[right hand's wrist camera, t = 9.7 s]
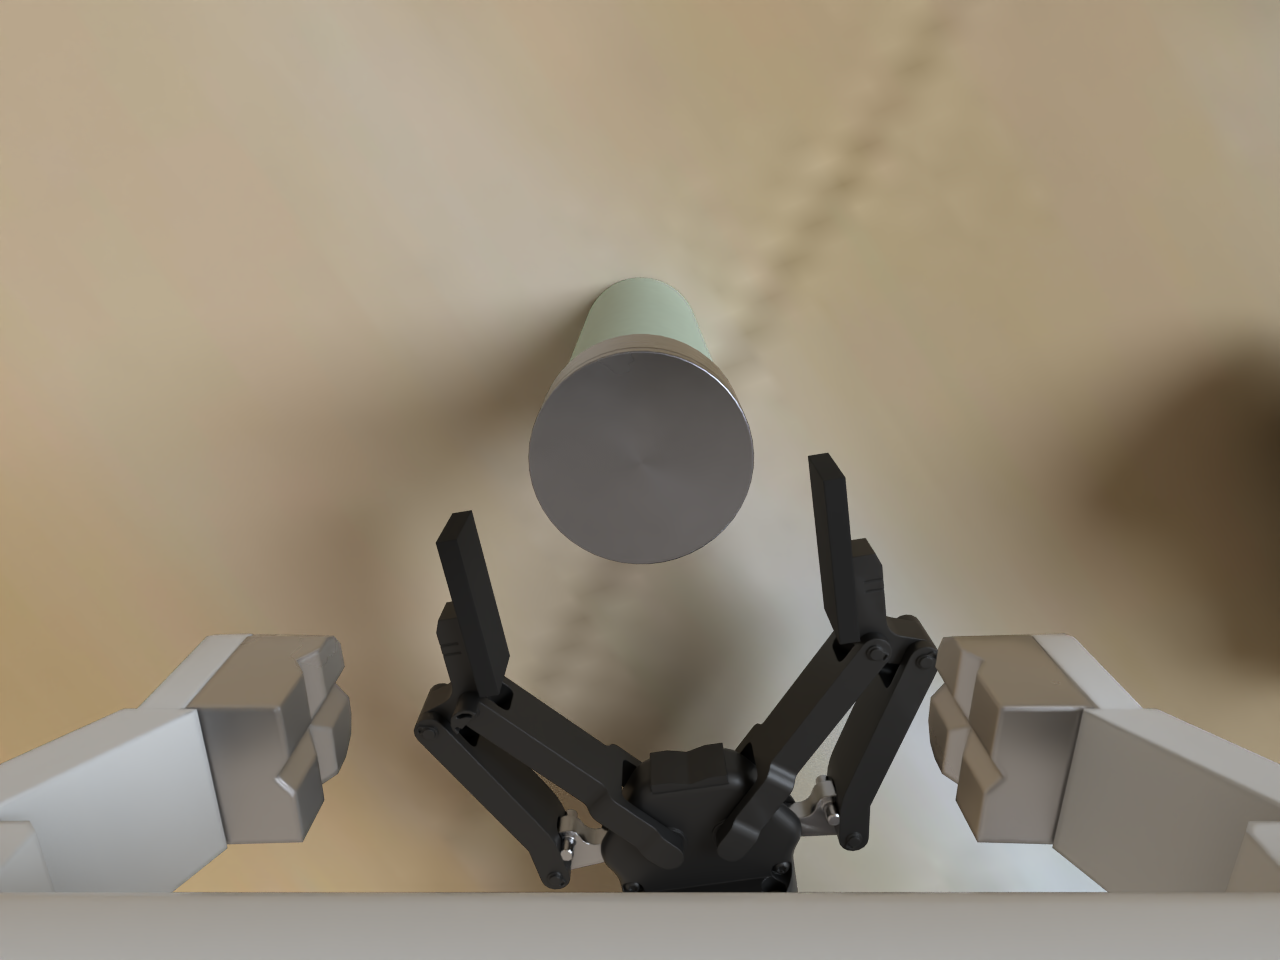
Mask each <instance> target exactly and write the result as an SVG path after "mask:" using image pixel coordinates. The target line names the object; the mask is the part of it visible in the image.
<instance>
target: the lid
mask: <svg viewBox="0 0 1280 960" xmlns="http://www.w3.org/2000/svg"><path fill="white" fill-rule="evenodd" d="M528 457H529V471H530V476H531V481H532V485H533V488H534V491H535V494H536V497H537V499H538V501H539V503H540V505H541V507H542V509H543V510H544V512H545V513H546V515H547V516H548V518H549V519H550V521H551V522H552V523H553V524H554V525H555V526H556V527H557V529H558V530H559V531H560V532H561V533H562V534H564V535H565V536H566V537H567V538H568V539H569V540H571V541H572V542H574V543H575V544H577V545H578V546H580V547H581V548H583V549H585V550H586V551H588V552H590V553H592V554H594V555H597V556H600V557H603V558H605V559H608V560H613V561H617V562H621V563H631V564H653V563H660V562H666V561H670V560H674V559H677V558H680V557H683V556H685V555H688V554H690V553H692V552H694V551H696V550H698V549H700V548H701V547H703V546H705V545H706V544H707V543H709V542H710V541H712V540H713V539H714V538H715V537H717V536H718V535H719V534H720V533H721V532H722V531H723V530H724V529H725V528H726V527H727V526H728V525H729V523H730V522H731V521H732V520H733V519H734V517H735V516H736V514H737V512H738V511H739V509H740V508H741V506H742V504H743V502H744V500H745V498H746V495H747V493H748V490H749V486H750V483H751V479H752V473H753V467H754V449H753V440H752V436H751V432H750V428H749V424H748V422H747V419H746V417H745V414H744V412H743V410H742V408H741V405H740V403H739V401H738V399H737V396H736V394H735V392H734V390H733V388H732V386H731V385H730V383H729V381H728V379H727V378H726V377H725V375H724V374H723V373H722V372H721V370H720V369H719V368H718V367H717V366H716V365H715V364H714V363H713V362H712V361H711V360H710V359H709V358H708V357H706V356H705V355H704V354H702V353H701V352H700V351H698V350H696V349H695V348H693V347H691V346H689V345H688V344H685V343H683V342H680V341H678V340H675V339H672V338H668V337H664V336H660V335H652V334H630V335H623V336H618V337H614V338H611V339H607V340H604V341H602V342H600V343H597V344H595V345H593V346H591V347H589V348H588V349H586V350H584V351H583V352H581V353H580V354H579V355H577V356H576V357H575V358H574V359H572V360H571V361H570V362H569V363H568V364H567V365H566V366H565V367H564V368H563V369H562V371H561V372H560V373H559V375H558V376H557V377H556V379H555V380H554V382H553V383H552V385H551V387H550V389H549V391H548V393H547V395H546V397H545V400H544V402H543V404H542V406H541V409H540V411H539V413H538V415H537V418H536V421H535V423H534V426H533V429H532V433H531V438H530V443H529V456H528Z"/></svg>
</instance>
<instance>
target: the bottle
mask: <svg viewBox="0 0 1280 960" xmlns="http://www.w3.org/2000/svg"><path fill="white" fill-rule="evenodd" d="M630 334H652V335H660V336H664V337H668V338H672V339H675V340H678V341H680V342H683V343H685V344H688V345H689V346H691V347H693V348H695V349H696V350H698V351H700V352H701V353H702V354H704V355H705V356H706V357H708V358H709V359H710V360H711V361H712V359H711V356H710V354H709V351H708V349H707V346H706V344H705V341H704V339H703V336H702V334H701V331H700V329H699V327H698V324H697V322H696V319H695V317H694V314H693V312H692V309H691V307H690V306H689V304H688V302H687V301H686V300H685V298H684V297H683V296H682V295H681V294H680V293H679V292H678V291H677V290H675V289H674V288H673V287H671V286H669V285H668V284H666V283H664V282H661V281H659V280H655V279H651V278H631V279H627V280H623V281H620V282H618V283H616V284H614V285H612V286H611V287H609V288H608V289H606V290H605V291H604V292H603V293H602V294H601V295H600V296H599V297H598V298H597V299H596V301H595V302H594V304H593V305H592V307H591V309H590V311H589V313H588V316H587V319H586V321H585V324H584V326H583V329H582V331H581V334H580V336H579V339H578V341H577V344H576V346H575V349H574V351H573V354H572V356H571V359H570V361H571V360H572V359H574V358H575V357H576V356H577V355H579V354H580V353H581V352H583V351H584V350H586V349H588V348H589V347H591V346H593V345H595V344H597V343H600V342H602V341H604V340H607V339H611V338H614V337H618V336H623V335H630ZM570 361H569V362H570ZM712 362H713V361H712Z"/></svg>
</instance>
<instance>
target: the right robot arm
mask: <svg viewBox="0 0 1280 960" xmlns="http://www.w3.org/2000/svg"><path fill="white" fill-rule="evenodd" d="M344 667H345V666H344V660H343V655H342V649H341V644H340V643H339V641H338V640H337V639H336V638H335V637H334V636H319V635H268V634H256V635H253V634H216V635H211V636H207V637H206V638H205V639H204V640H203V641H202V642H201V643H200V644H199V645H198V646H197V647H196V648H195V649H194V650H193V651H192V652H191V653H190V654H189V655H188V656H187V657H186V658H185V659H184V660H183V661H182V663H181V664H180V665H179V666H178V667H177V668H176V669H175V670H174V671H173V672H172V673H171V674H170V675H169V676H168V677H167V678H166V679H165V680H164V681H163V682H162V683H161V684H160V685H159V686H158V687H157V688H156V689H155V690H154V692H153V693H152V694H151V695H150V696H149V697H148V698H147V699H146V700H145V701H144V702H143V703H142V704H141V705H140V706H139V707H138V708H137V709H122V710H120V711H117V712H115V713H113V714H111V715H108V716H106V717H104V718H102V719H100V720H97V721H95V722H93V723H91V724H88V725H86V726H84V727H82V728H79V729H77V730H75V731H73V732H71V733H68V734H66V735H64V736H62V737H59V738H57V739H55V740H53V741H51V742H48V743H46V744H44V745H42V746H39V747H37V748H35V749H33V750H30V751H28V752H26V753H24V754H22V755H19V756H17V757H15V758H13V759H10V760H8V761H6V762H4V763H2V764H0V960H1280V764H1278V763H1276V762H1274V761H1271V760H1269V759H1267V758H1265V757H1263V756H1260V755H1258V754H1256V753H1254V752H1251V751H1249V750H1247V749H1245V748H1243V747H1240V746H1238V745H1236V744H1234V743H1232V742H1229V741H1227V740H1225V739H1223V738H1220V737H1218V736H1216V735H1214V734H1212V733H1209V732H1207V731H1205V730H1203V729H1200V728H1198V727H1196V726H1194V725H1192V724H1189V723H1187V722H1185V721H1183V720H1180V719H1178V718H1176V717H1174V716H1172V715H1169V714H1167V713H1165V712H1163V711H1160V710H1158V709H1143V708H1142V707H1141V706H1140V705H1139V704H1138V703H1137V702H1136V701H1135V700H1134V699H1133V698H1132V697H1131V696H1130V695H1129V694H1128V692H1127V691H1126V690H1125V689H1124V688H1123V687H1122V686H1121V685H1120V684H1119V683H1118V682H1117V681H1116V680H1115V679H1114V678H1113V677H1112V676H1111V675H1110V674H1109V673H1108V672H1107V671H1106V670H1105V669H1104V668H1103V667H1102V665H1101V664H1100V663H1099V662H1098V661H1097V660H1096V659H1095V658H1094V657H1093V656H1092V655H1091V654H1090V653H1089V652H1088V651H1087V650H1086V649H1085V648H1084V647H1083V646H1082V645H1081V644H1080V643H1079V642H1078V641H1077V640H1076V639H1075V637H1072V636H1070V635H1067V634H1064V633H1060V634H1035V635H995V636H954V637H943V639H942V641H941V644H940V646H939V648H938V653H937V659H936V666H935V667H936V669H937V670H938V672H939V674H940V675H941V677H942V679H943V680H944V682H945V683H944V684H943V685H942V686H941V687H940V688H939V689H938V690H937V691H936V692H935V694H934V695H933V696H932V697H931V701H930V710H929V719H928V723H929V734H930V743H931V747H932V750H933V754H934V757H935V760H936V762H937V764H938V766H939V768H940V770H941V772H942V774H943V775H945V776H946V777H948V778H949V779H951V780H952V781H954V782H955V783H957V784H958V788H957V795H956V802H957V804H958V806H959V808H960V809H961V811H962V813H963V815H964V817H965V819H966V821H967V823H968V825H969V827H970V829H971V831H972V832H973V834H974V836H975V838H976V840H977V842H989V843H1026V844H1053V847H1052V848H1054V849H1055V850H1056V851H1057V852H1059V853H1060V854H1061V855H1062V856H1064V857H1065V858H1066V859H1067V860H1069V861H1070V862H1071V863H1072V864H1074V865H1075V866H1076V867H1077V868H1079V869H1080V870H1081V871H1082V872H1083V873H1085V874H1086V875H1087V876H1088V877H1090V878H1091V879H1092V880H1093V881H1095V882H1096V883H1097V884H1098V885H1100V886H1101V887H1102V888H1103V889H1105V890H1106V891H1107V892H173V891H174V890H176V889H177V888H178V887H179V886H181V885H182V884H183V883H184V882H186V881H187V880H188V879H189V878H191V877H192V876H193V875H194V874H196V873H197V872H198V871H199V870H201V869H202V868H203V867H204V866H206V865H207V864H208V863H209V862H211V861H212V860H213V859H214V858H216V857H217V856H218V855H219V854H221V853H222V852H223V851H224V850H226V849H227V844H253V843H288V842H303V840H304V838H305V836H306V835H307V833H308V831H309V829H310V827H311V825H312V823H313V821H314V819H315V817H316V815H317V813H318V811H319V809H320V808H321V806H322V804H323V802H324V795H323V788H322V784H323V783H325V782H326V781H328V780H329V779H331V778H332V777H334V776H335V775H337V774H338V772H339V770H340V768H341V766H342V764H343V762H344V760H345V758H346V754H347V750H348V745H349V741H350V736H351V708H350V700H349V697H348V696H347V695H346V694H345V692H344V691H343V690H342V689H341V688H340V687H339V686H338V685H337V684H336V683H335V682H336V681H337V679H338V677H339V675H340V674H341V672H342V670H343V669H344Z"/></svg>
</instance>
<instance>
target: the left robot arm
mask: <svg viewBox="0 0 1280 960" xmlns="http://www.w3.org/2000/svg"><path fill="white" fill-rule="evenodd" d="M808 461H809V470H810V480H811V489H812V498H813V508H814V517H815V526H816V536H817V545H818V554H819V564H820V573H821V582H822V592H823V601H824V609H825V611H826V614H827V616H828V618H829V621H830V623H831V625H832V628H833V630H834V631H833V633H832V634H831V635H830V636H829V638H828V639H827V640H826V642H825V643H824V644H823V646H822V647H821V648H820V650H819V651H818V652H817V653H816V655H815V656H814V657H813V659H812V660H811V661H810V663H809V664H808V665H807V666H806V668H805V669H804V670H803V672H802V673H801V674H800V676H799V677H798V678H797V680H796V681H795V682H794V683H793V685H792V686H791V687H790V689H789V690H788V691H787V693H786V694H785V695H784V697H783V698H782V699H781V700H780V702H779V703H778V704H777V706H776V707H775V708H774V710H773V711H772V712H771V714H770V715H769V716H768V717H767V719H766V720H765V721H764V722H763V724H756V725H754V726H753V728H752V729H751V730H750V732H749V733H748V734H747V735H746V737H745V738H744V739H743V741H742V742H741V743H740V745H739V746H738V747H737V749H736V750H735V751H734V750H731V749H725V748H723V744H722V743H717V744H710V745H704V746H701V747H699V748H696V749H693V750H691V751H688V752H680V751H661V752H654V753H650V759H648V760H646V761H644V762H643V763H642V762H640V761H639V760H637V759H636V758H635V757H633V756H632V755H630V754H629V753H627V752H626V751H624V750H623V749H621V748H620V747H619V746H617V745H614V744H611V745H609V746H606V745H604V744H603V743H601V742H600V741H598V740H597V739H595V738H594V737H593V736H591V735H590V734H588V733H587V732H585V731H584V730H582V729H581V728H579V727H578V726H576V725H575V724H574V723H572V722H571V721H569V720H568V719H566V718H565V717H563V716H562V715H560V714H559V713H557V712H556V711H555V710H553V709H552V708H550V707H549V706H547V705H546V704H544V703H543V702H541V701H540V700H539V699H537V698H536V697H534V696H533V695H531V694H530V693H528V692H527V691H525V690H524V689H522V688H521V687H520V686H518V685H517V684H515V683H514V682H512V681H511V680H509V679H508V678H506V677H505V676H504V675H505V671H506V668H507V664H508V660H509V657H510V654H509V651H508V647H507V643H506V639H505V635H504V632H503V628H502V624H501V620H500V616H499V613H498V609H497V605H496V601H495V597H494V594H493V590H492V586H491V582H490V578H489V574H488V571H487V567H486V563H485V559H484V555H483V552H482V548H481V544H480V540H479V536H478V533H477V529H476V525H475V521H474V517H473V514H472V510H470V511H464V512H458V513H452V515H451V517H450V519H449V520H448V522H447V524H446V526H445V527H444V529H443V531H442V533H441V534H440V536H439V538H438V540H437V541H436V545H437V549H438V552H439V556H440V560H441V563H442V567H443V570H444V574H445V577H446V581H447V584H448V588H449V591H450V595H451V598H452V602H447V603H446V605H445V607H444V609H443V611H442V613H441V616H440V618H439V620H438V625H437V632H436V633H437V637H438V640H439V644H440V645H441V650H442V654H443V657H444V661H445V664H446V667H447V671H448V674H449V677H450V681H451V683H449V684H445V683H442V684H437V685H434V686H433V687H432V688H431V689H430V692H429V694H428V697H427V699H426V701H425V704H424V706H423V708H422V711H421V713H420V716H419V718H418V721H417V723H416V725H415V729H414V734H415V737H416V738H417V739H418V741H419V742H420V743H421V744H422V745H423V746H424V747H425V748H426V749H427V750H428V751H429V752H430V753H431V754H432V755H433V756H434V757H435V758H436V759H437V760H438V761H439V762H440V763H441V764H442V765H443V766H444V767H445V768H446V769H447V770H448V771H449V772H450V773H451V774H452V775H453V776H454V777H455V778H456V779H457V780H458V781H459V782H460V783H461V784H462V785H463V786H464V787H465V788H466V789H467V790H468V791H469V792H470V793H471V794H472V795H473V796H474V797H475V798H476V799H477V800H478V801H479V802H480V803H481V804H482V805H483V806H484V807H485V808H486V809H487V810H488V811H489V812H490V813H491V814H492V815H493V816H494V817H495V818H496V819H497V820H498V821H499V822H500V823H501V824H502V825H503V826H504V827H505V828H506V829H507V830H508V831H509V832H510V833H511V834H512V835H513V836H514V837H515V838H516V839H517V840H518V841H519V842H520V843H521V844H522V845H523V846H524V847H525V848H526V849H527V850H528V851H529V853H530V855H531V857H532V859H533V862H534V864H535V866H536V869H537V871H538V873H539V876H540V878H541V880H542V882H543V883H544V885H545V886H547V887H549V888H552V889H561V888H563V887H565V886H566V885H567V884H568V883H569V881H570V874H571V870H572V869H576V868H580V867H585V866H589V865H593V864H598V863H602V862H605V863H606V865H607V866H608V867H609V868H610V869H611V870H612V871H614V873H615V874H616V875H617V876H618V878H619V880H620V883H621V887H622V891H623V892H798V889H797V882H796V875H795V867H794V860H793V853H794V849H795V847H796V845H797V843H798V841H799V839H800V836H820V835H837V836H838V839H839V843H840V845H841V846H842V847H843V848H844V849H846V850H850V851H855V850H859V849H861V848H863V847H864V846H865V845H866V844H867V842H868V839H869V819H870V805H871V803H872V801H873V799H874V797H875V795H876V793H877V791H878V789H879V787H880V785H881V783H882V781H883V779H884V777H885V775H886V773H887V771H888V769H889V767H890V765H891V763H892V761H893V759H894V757H895V755H896V753H897V751H898V749H899V747H900V745H901V743H902V741H903V739H904V737H905V735H906V733H907V731H908V729H909V727H910V725H911V723H912V721H913V719H914V717H915V715H916V713H917V711H918V709H919V707H920V705H921V703H922V700H923V698H924V696H925V694H926V692H927V690H928V688H929V686H930V684H931V682H932V680H933V678H934V676H935V674H936V672H937V669H936V667H935V666H936V659H937V653H938V650H937V648H936V646H935V645H934V643H933V642H932V640H931V639H930V637H929V635H928V634H927V632H926V631H925V629H924V628H923V626H922V625H921V623H920V621H919V620H918V619H917V618H916V617H914V616H912V615H903V616H899V617H898V618H891V617H888V616H886V609H885V596H884V583H883V570H882V564H881V563H880V561H879V559H878V557H877V556H876V554H875V552H874V551H873V549H872V547H871V546H870V544H869V543H868V541H867V540H866V538H863V539H856V540H851V535H850V524H849V513H848V502H847V491H846V480H845V476H844V475H843V473H842V472H841V471H840V469H839V468H838V466H837V465H836V463H835V462H834V461H833V459H832V458H831V456H830V455H829V453H823V454H817V455H811V456H808ZM855 701H856V702H855ZM854 703H855V704H854ZM853 704H854V706H853V709H852V711H851V713H850V715H849V717H848V719H847V722H846V724H845V726H844V728H843V730H842V732H841V735H840V737H839V739H838V741H837V743H836V745H835V748H834V750H833V752H832V755H831V757H830V761H829V765H828V771H827V776H826V775H820V776H818V777H817V778H816V785H815V786H814V787H813V790H812V792H811V795H810V796H809V797H808V798H807V799H806V800H804V801H802V802H795V801H794V799H793V798H792V796H791V795H790V794H791V792H792V790H793V787H794V783H795V778H796V775H797V774H798V772H799V771H800V770H801V769H802V767H803V766H804V765H805V764H806V762H807V761H808V760H809V759H810V757H811V756H812V755H813V754H814V752H815V751H816V750H817V749H818V747H819V746H820V745H821V744H822V742H823V741H824V740H825V739H826V737H827V736H828V735H829V734H830V732H831V731H832V730H833V729H834V728H835V726H836V725H837V724H838V723H839V721H840V720H841V719H842V718H843V716H844V715H845V714H846V713H847V711H848V710H849V709H850V708H851V706H852V705H853ZM531 768H532V769H533V770H535V771H536V772H538V773H539V774H541V775H542V776H544V777H545V778H547V779H548V780H550V781H551V782H553V783H554V784H556V785H557V786H559V787H560V788H562V789H563V790H565V791H566V792H568V793H569V794H571V795H572V796H574V797H575V798H577V799H578V800H580V801H581V802H583V803H584V804H585V805H586V806H587V808H588V810H589V813H590V814H591V816H592V817H593V818H594V819H595V820H596V821H597V822H599V823H600V824H602V828H600V829H592V828H589V827H587V826H586V825H584V823H583V822H582V821H581V820H580V819H579V818H577V817H578V814H577V812H576V811H575V810H573V809H568V810H566V811H565V810H564V808H563V805H562V804H561V802H560V800H559V799H558V797H557V796H556V795H555V794H554V792H553V791H552V790H551V789H550V788H549V787H548V786H547V785H546V784H545V783H544V782H543V780H542V779H541V778H540V777H539V776H538V775H537V774H536V773H535V772H534V771H533V770H532V769H531ZM622 786H623V787H624V788H623V789H622Z"/></svg>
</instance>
